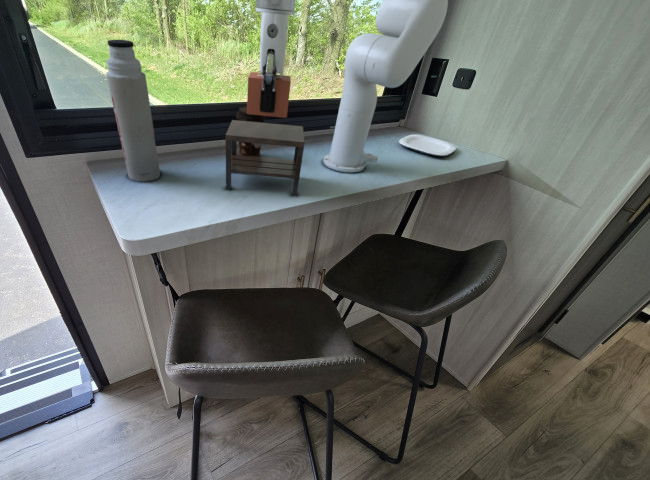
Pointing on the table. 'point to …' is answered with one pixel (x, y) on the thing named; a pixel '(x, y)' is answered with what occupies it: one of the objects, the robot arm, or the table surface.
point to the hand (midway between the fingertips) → (267, 107)
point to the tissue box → (256, 86)
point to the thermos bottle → (132, 111)
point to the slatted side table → (264, 165)
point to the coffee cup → (246, 147)
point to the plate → (427, 145)
